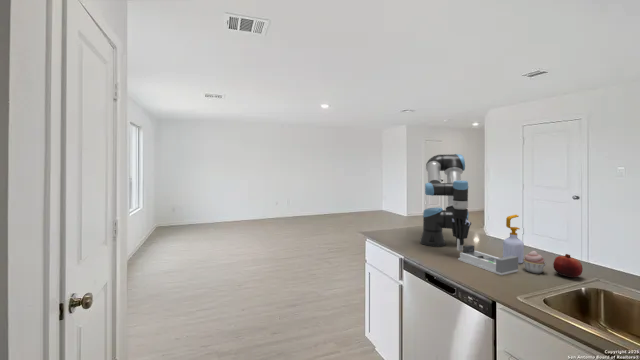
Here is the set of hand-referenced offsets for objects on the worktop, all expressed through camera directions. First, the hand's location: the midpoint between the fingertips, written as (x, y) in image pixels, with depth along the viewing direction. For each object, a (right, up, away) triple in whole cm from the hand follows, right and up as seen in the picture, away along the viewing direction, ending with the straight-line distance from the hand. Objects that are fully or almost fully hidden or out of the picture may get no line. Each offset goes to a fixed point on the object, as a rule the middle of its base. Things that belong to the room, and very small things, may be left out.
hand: (459, 250), depth 162 cm
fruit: (+35, -5, -30) cm, 46 cm away
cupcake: (+24, -5, -23) cm, 34 cm away
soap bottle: (+24, -4, -8) cm, 26 cm away
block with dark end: (+3, -3, -11) cm, 11 cm away
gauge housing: (+6, -4, -15) cm, 17 cm away
